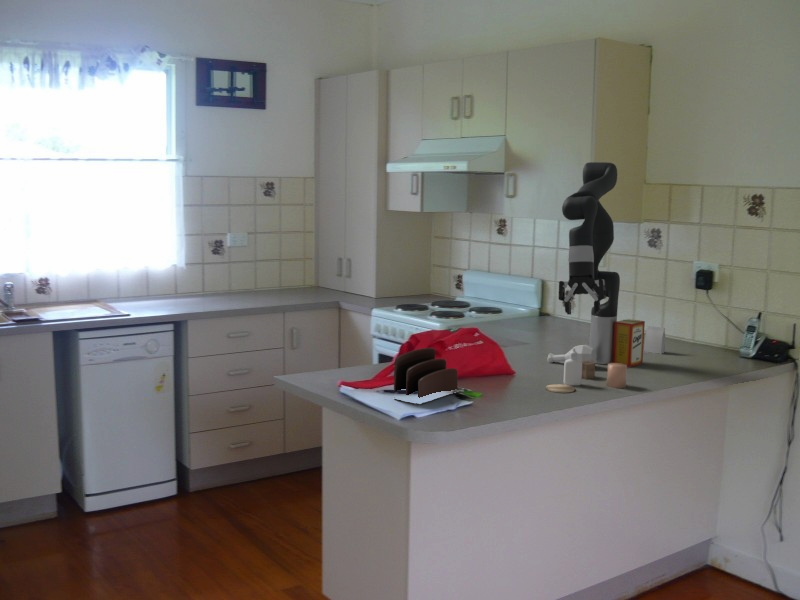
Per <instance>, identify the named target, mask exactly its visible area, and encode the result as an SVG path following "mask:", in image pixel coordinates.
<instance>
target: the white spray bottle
mask: <svg viewBox="0 0 800 600" xmlns="http://www.w3.org/2000/svg"><path fill="white" fill-rule="evenodd" d="M573 348H575V351H576V352H577V353H578V354H577V359H578V360H580V361H583V360H584V361H589V362H594V361H596V352H595V350H594V349H592V348H591V347H589V346H588V344H580V345H579V344H578V345H576V346H574V347H571V349H570V350H569V351H568V352H567V353H565V354H553V353H548V355H547V359H546V360H547V362H548V363H549V362H550V364H551V363H554V362H562V361H564V362H565V361H566V360H568V359H570V352H572V350H573Z"/></svg>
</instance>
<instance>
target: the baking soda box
mask: <svg viewBox="0 0 800 600" xmlns="http://www.w3.org/2000/svg"><path fill="white" fill-rule="evenodd" d="M644 344H645V321H644V320H640V319H639V320H638V319H632V318H631V319H630V318H626V319H621V320H617V322H615V336H614V356H613V363H622V364H626V365H627V368H631V367H635V366H638V365H642V364H643V362H644V361H643V358H644V357H643V356H644Z"/></svg>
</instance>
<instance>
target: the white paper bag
mask: <svg viewBox="0 0 800 600" xmlns="http://www.w3.org/2000/svg"><path fill="white" fill-rule="evenodd" d="M644 351H645V352H644ZM643 352H644V353H648V352H652V353H651V354H655V353H660V354H659V355H662V354H661V353H663V354H665V353H664V352H666V331H665V327H660V326H651V325H650V326H648V325H647V326H646V331H645V333H644V344H643Z"/></svg>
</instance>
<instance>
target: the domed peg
mask: <svg viewBox="0 0 800 600" xmlns="http://www.w3.org/2000/svg"><path fill="white" fill-rule="evenodd" d="M627 370H628V367H627V365H626V364H622V363H609V364H607V373H606V374H607V375H606V377H607V379H606V386H607V387H608V388H612V389H625V388H627V376H628V375H627V372H628V371H627Z"/></svg>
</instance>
